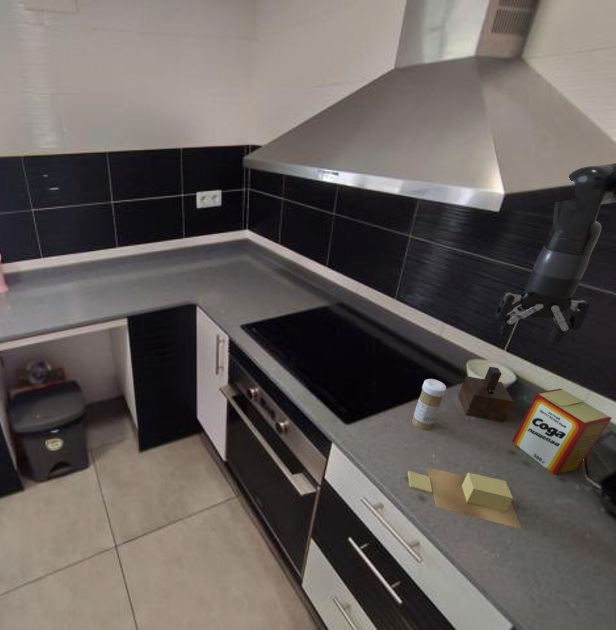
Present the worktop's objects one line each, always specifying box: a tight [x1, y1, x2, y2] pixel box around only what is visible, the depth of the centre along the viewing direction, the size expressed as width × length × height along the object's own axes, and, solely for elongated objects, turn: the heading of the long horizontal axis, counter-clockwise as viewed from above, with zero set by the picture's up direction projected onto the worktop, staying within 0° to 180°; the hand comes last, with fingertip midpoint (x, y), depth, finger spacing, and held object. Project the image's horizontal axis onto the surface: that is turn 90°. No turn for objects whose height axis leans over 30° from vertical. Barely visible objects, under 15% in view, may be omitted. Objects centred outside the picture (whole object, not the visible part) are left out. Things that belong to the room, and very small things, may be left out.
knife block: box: [457, 375, 514, 423], centre depth 97 cm, size 8×8×8 cm
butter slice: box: [407, 470, 433, 494], centre depth 78 cm, size 2×4×4 cm
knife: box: [483, 366, 502, 394], centre depth 95 cm, size 2×4×12 cm, turn 161°
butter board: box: [426, 466, 523, 530], centre depth 76 cm, size 14×10×1 cm
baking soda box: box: [511, 388, 612, 476], centre depth 81 cm, size 10×6×16 cm
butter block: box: [462, 472, 514, 512], centre depth 74 cm, size 6×4×4 cm, turn 71°
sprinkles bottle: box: [411, 378, 447, 431], centre depth 91 cm, size 5×5×13 cm
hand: (527, 340), depth 84 cm, fingers open, 8 cm apart
